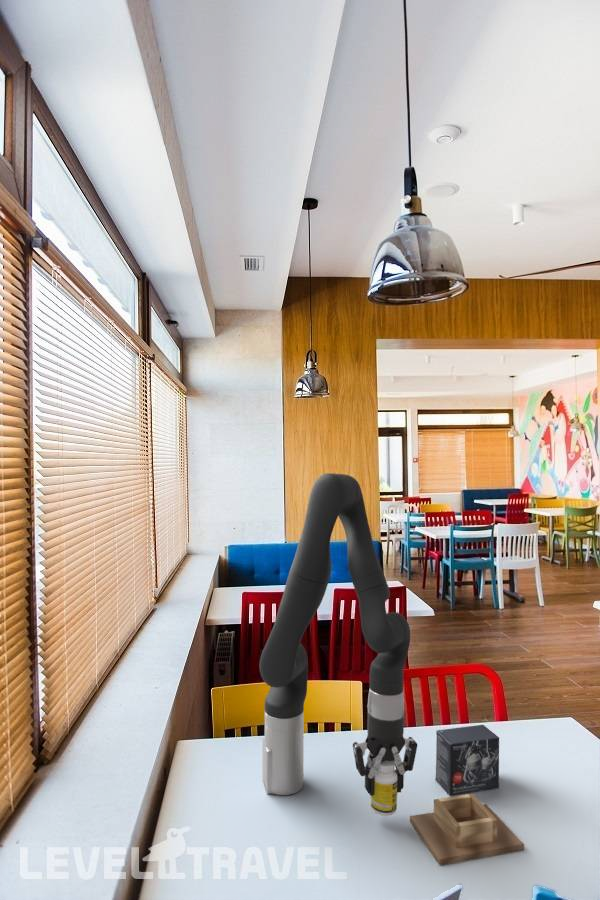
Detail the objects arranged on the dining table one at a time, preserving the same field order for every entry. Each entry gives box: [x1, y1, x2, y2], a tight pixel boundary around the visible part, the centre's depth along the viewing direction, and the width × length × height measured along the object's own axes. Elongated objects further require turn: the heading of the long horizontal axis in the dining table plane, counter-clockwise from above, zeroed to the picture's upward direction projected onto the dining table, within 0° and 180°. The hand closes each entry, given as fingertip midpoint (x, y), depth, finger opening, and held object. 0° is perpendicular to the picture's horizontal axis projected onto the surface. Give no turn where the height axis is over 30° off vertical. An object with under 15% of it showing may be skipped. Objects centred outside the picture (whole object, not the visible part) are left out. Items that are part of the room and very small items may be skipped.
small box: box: [434, 724, 500, 797], centre depth 130 cm, size 13×7×12 cm, turn 105°
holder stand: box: [409, 793, 525, 866], centre depth 112 cm, size 18×13×5 cm
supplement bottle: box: [370, 761, 398, 816], centre depth 116 cm, size 5×5×10 cm
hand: (384, 791), depth 116 cm, fingers closed on supplement bottle, 5 cm apart
